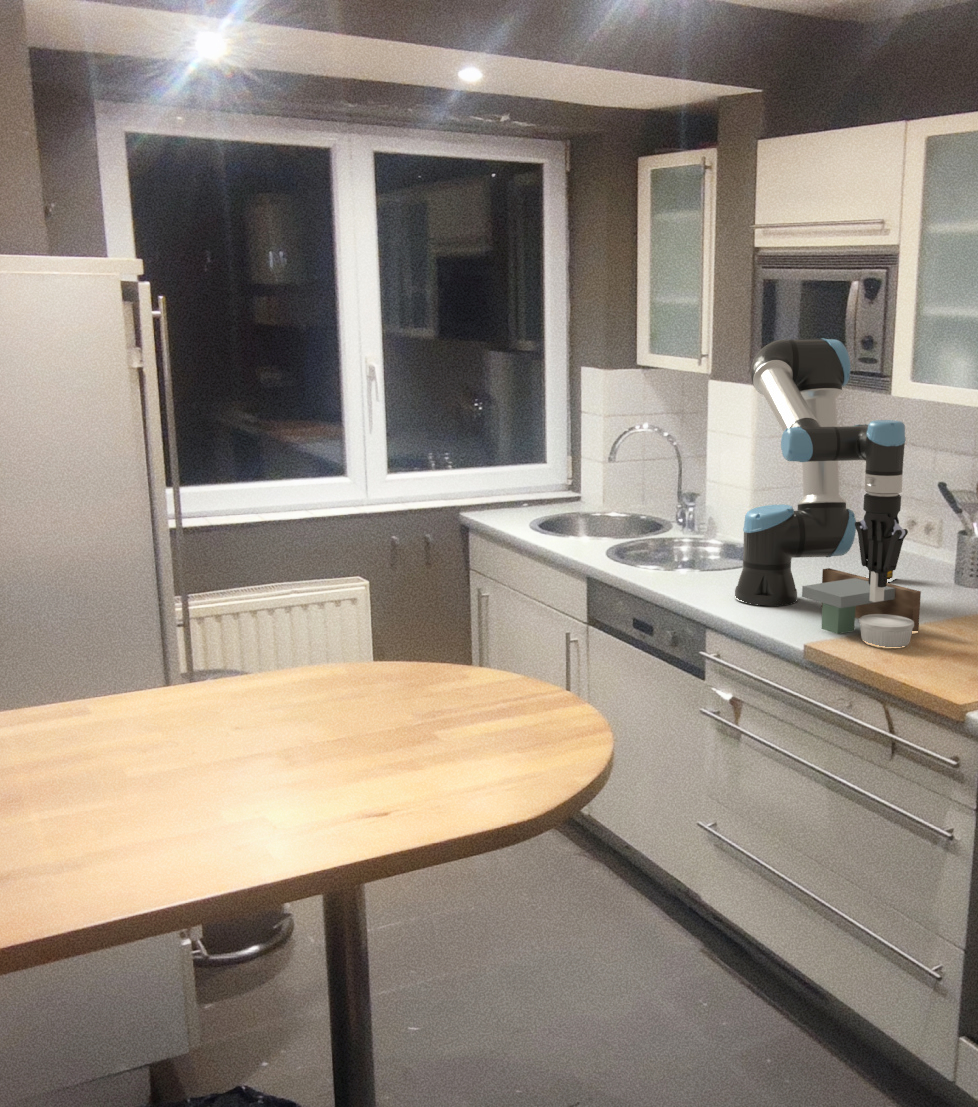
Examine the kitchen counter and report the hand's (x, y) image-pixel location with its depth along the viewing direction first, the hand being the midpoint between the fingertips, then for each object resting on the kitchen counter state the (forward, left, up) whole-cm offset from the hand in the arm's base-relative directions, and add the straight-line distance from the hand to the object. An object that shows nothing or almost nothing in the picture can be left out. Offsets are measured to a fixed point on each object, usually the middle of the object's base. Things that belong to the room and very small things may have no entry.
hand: (876, 600), depth 241 cm
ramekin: (+5, -2, -9) cm, 10 cm away
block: (-8, -3, -8) cm, 12 cm away
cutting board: (-11, +9, -8) cm, 17 cm away
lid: (-8, 0, -1) cm, 8 cm away
